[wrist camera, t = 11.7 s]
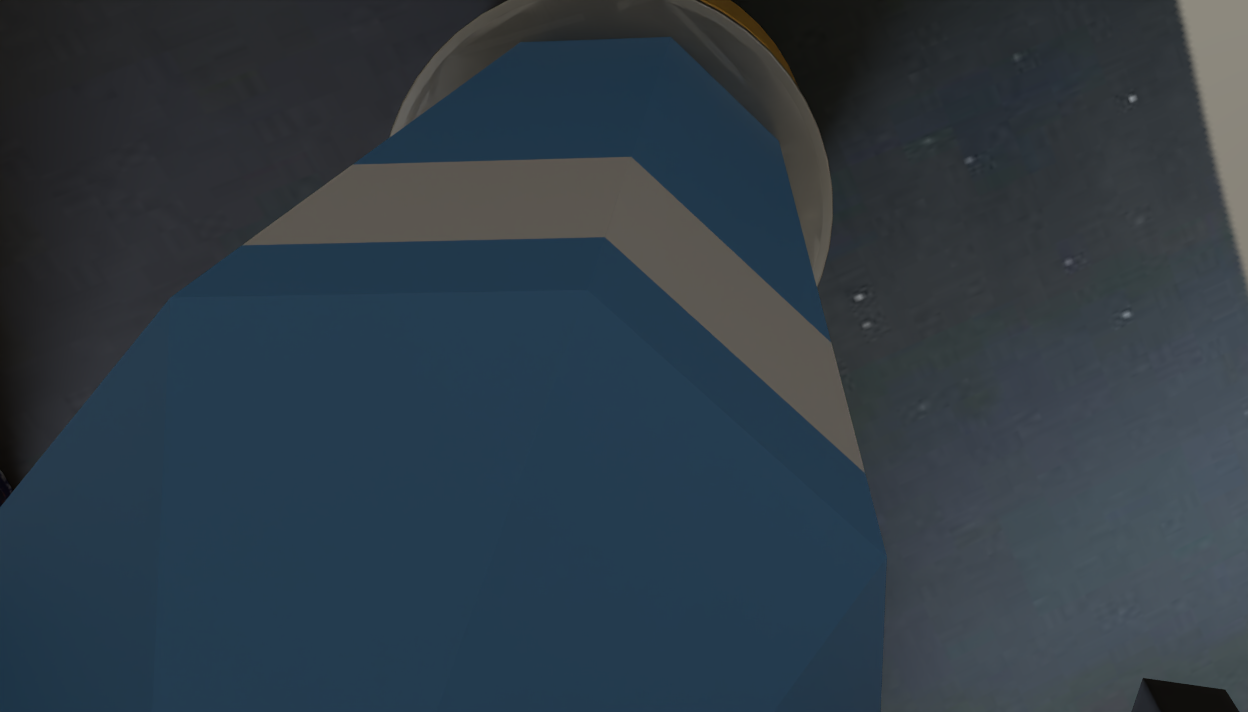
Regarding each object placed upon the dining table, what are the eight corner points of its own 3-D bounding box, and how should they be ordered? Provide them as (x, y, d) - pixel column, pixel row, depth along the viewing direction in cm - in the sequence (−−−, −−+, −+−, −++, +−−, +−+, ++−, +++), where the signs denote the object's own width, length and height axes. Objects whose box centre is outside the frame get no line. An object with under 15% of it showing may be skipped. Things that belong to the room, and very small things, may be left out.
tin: (556, -112, 35) (506, -115, 27) (877, 80, 37) (925, 134, 28) (396, 209, 39) (309, 293, 31) (691, 372, 41) (685, 495, 32)
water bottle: (710, 439, 32) (692, 1948, 8) (375, 318, 31) (-641, 1568, 8) (855, 107, 28) (1501, 1078, 5) (483, -36, 28) (-738, 305, 4)
